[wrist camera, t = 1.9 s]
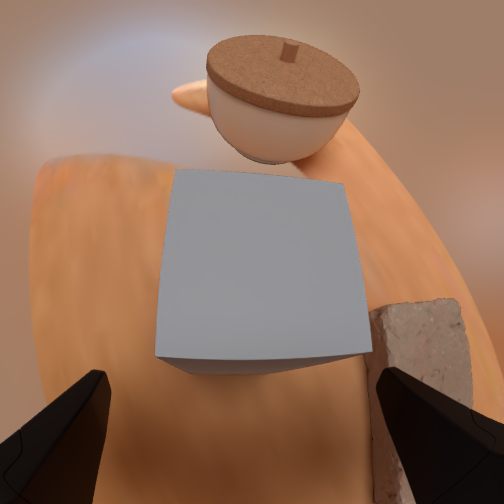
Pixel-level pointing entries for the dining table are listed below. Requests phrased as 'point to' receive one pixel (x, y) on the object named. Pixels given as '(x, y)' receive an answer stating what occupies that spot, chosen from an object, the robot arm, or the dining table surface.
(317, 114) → the lidded bowl
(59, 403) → the robot arm
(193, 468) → the dining table surface
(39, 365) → the dining table surface
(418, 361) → the brick
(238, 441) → the dining table surface
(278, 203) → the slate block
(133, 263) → the dining table surface
